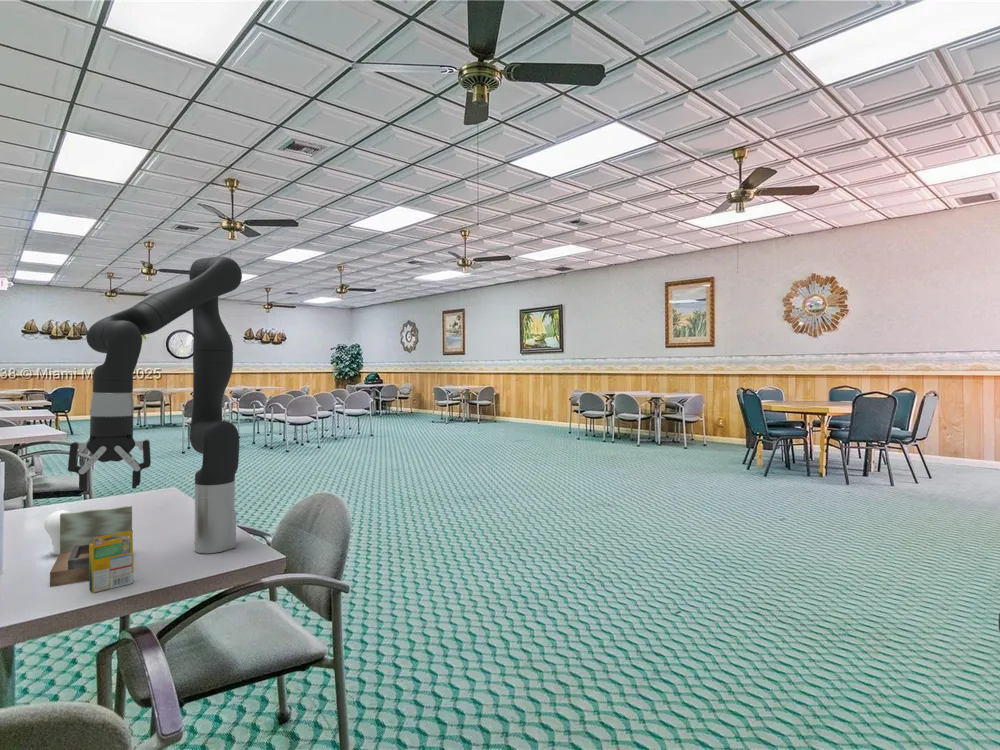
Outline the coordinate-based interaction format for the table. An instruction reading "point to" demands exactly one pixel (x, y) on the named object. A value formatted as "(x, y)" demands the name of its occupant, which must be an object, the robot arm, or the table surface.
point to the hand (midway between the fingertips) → (110, 489)
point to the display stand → (85, 540)
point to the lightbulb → (54, 529)
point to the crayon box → (111, 561)
